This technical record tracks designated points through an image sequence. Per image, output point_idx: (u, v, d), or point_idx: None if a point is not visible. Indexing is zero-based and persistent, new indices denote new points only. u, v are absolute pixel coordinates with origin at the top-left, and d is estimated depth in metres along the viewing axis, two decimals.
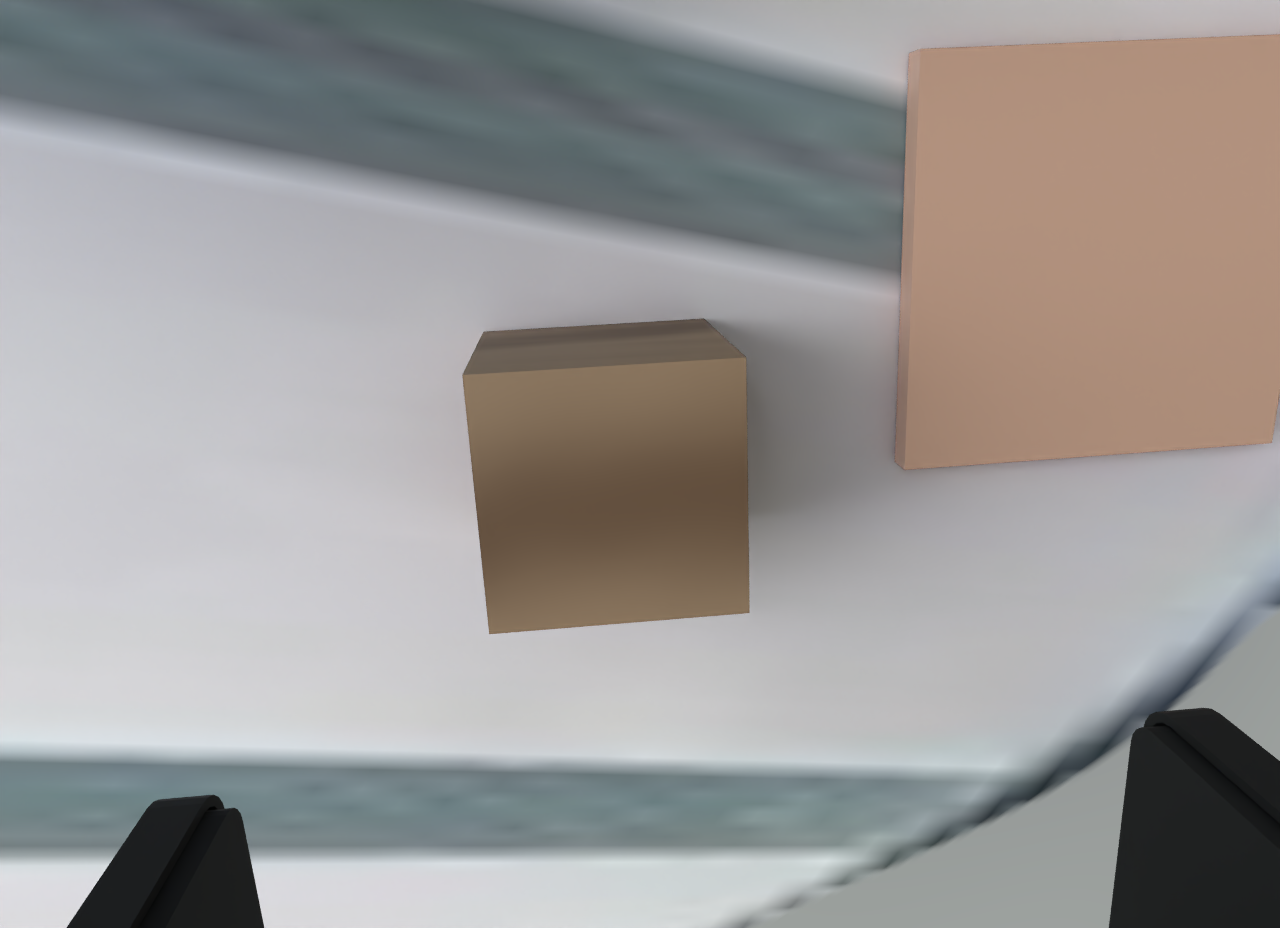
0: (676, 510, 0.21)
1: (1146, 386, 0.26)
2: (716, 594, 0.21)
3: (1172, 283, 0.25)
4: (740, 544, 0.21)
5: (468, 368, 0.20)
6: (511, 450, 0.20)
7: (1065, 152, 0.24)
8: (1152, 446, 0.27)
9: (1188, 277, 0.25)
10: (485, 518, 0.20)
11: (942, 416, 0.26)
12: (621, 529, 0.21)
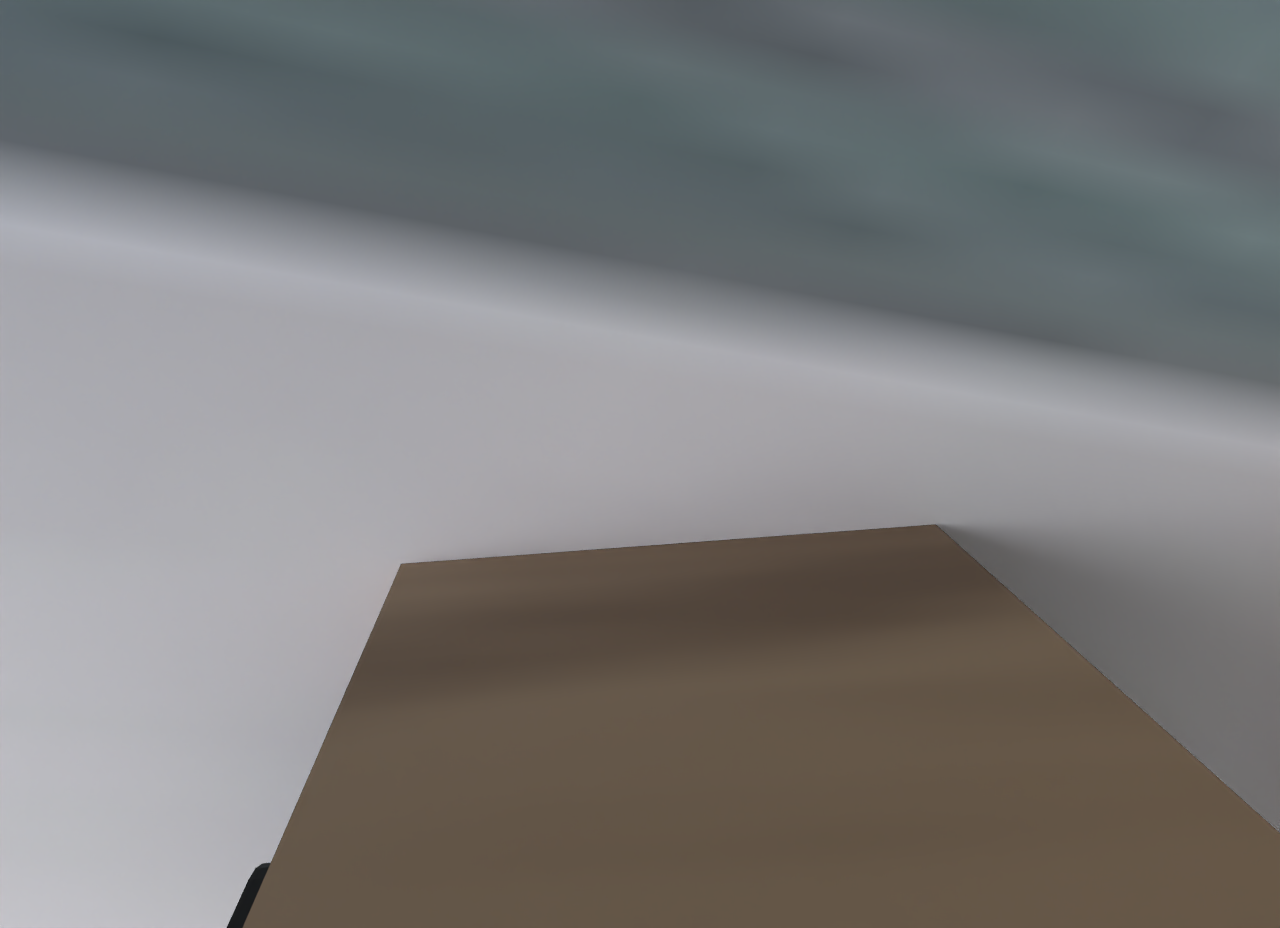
0: None
1: None
2: None
3: None
4: None
5: None
6: None
7: None
8: None
9: None
10: None
11: None
12: None
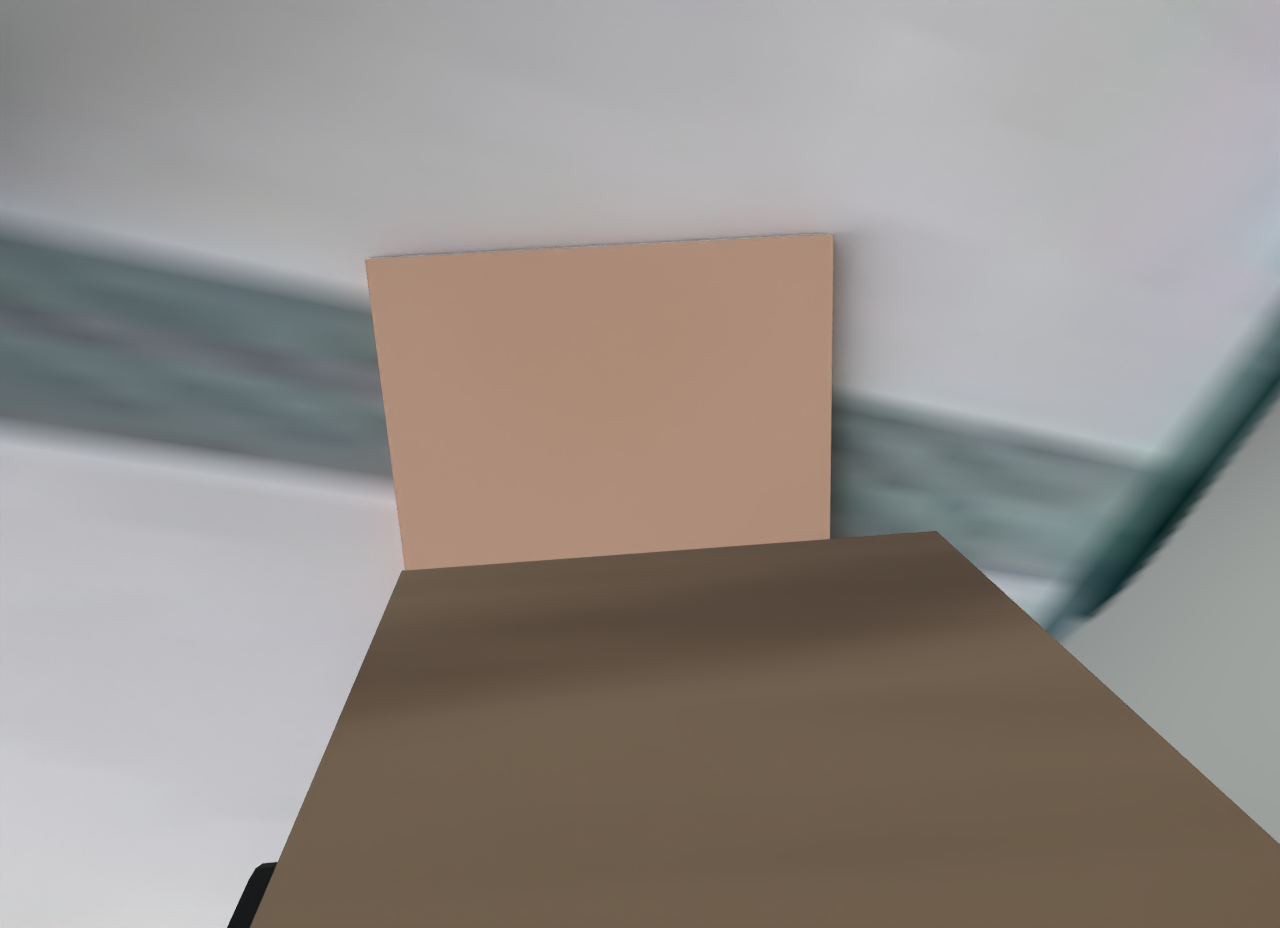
0: None
1: None
2: None
3: (690, 491, 0.24)
4: None
5: None
6: None
7: (546, 361, 0.22)
8: None
9: (707, 485, 0.24)
10: None
11: None
12: None
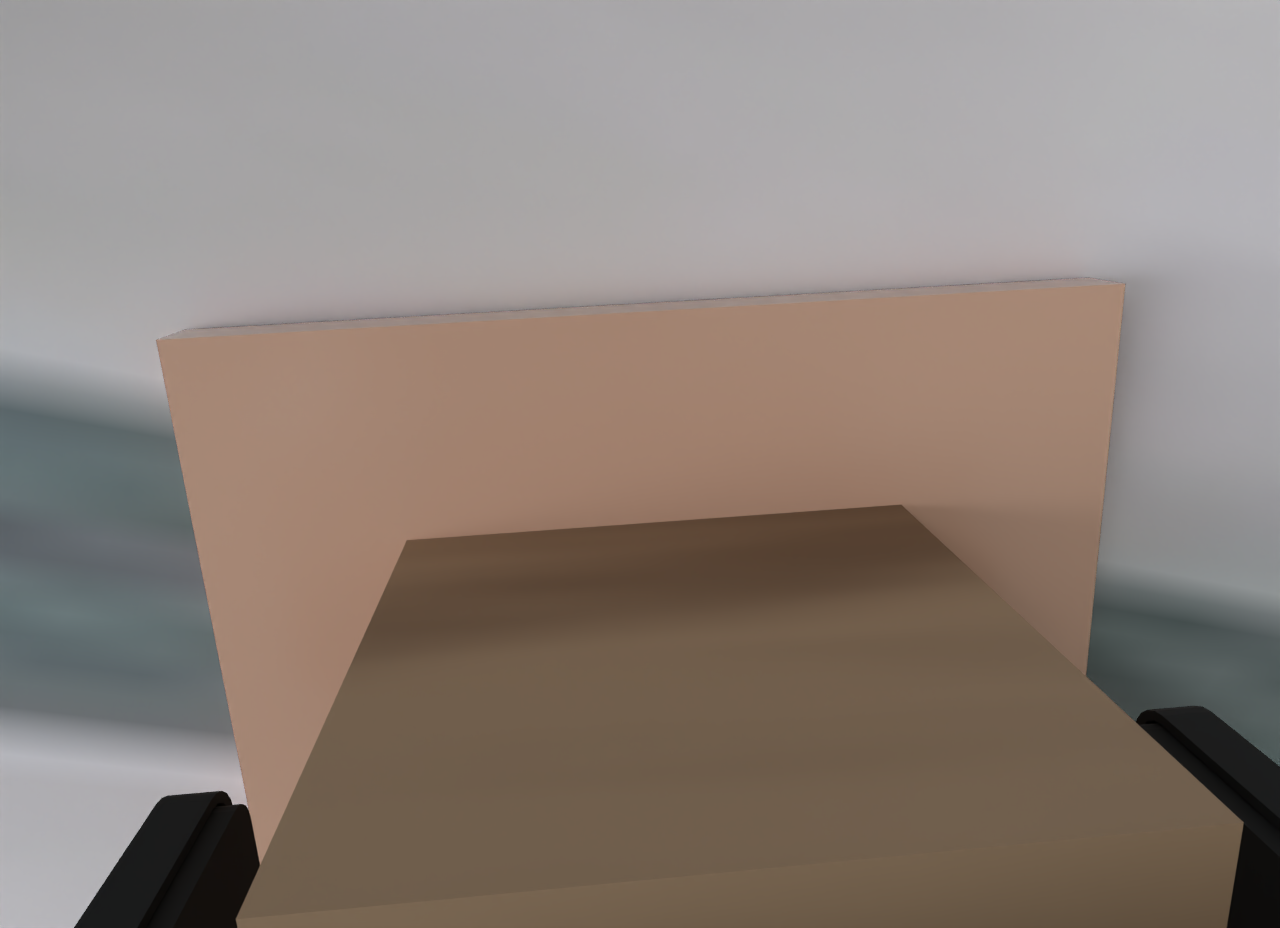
0: None
1: None
2: None
3: None
4: None
5: (281, 839, 0.06)
6: None
7: None
8: None
9: None
10: None
11: None
12: None
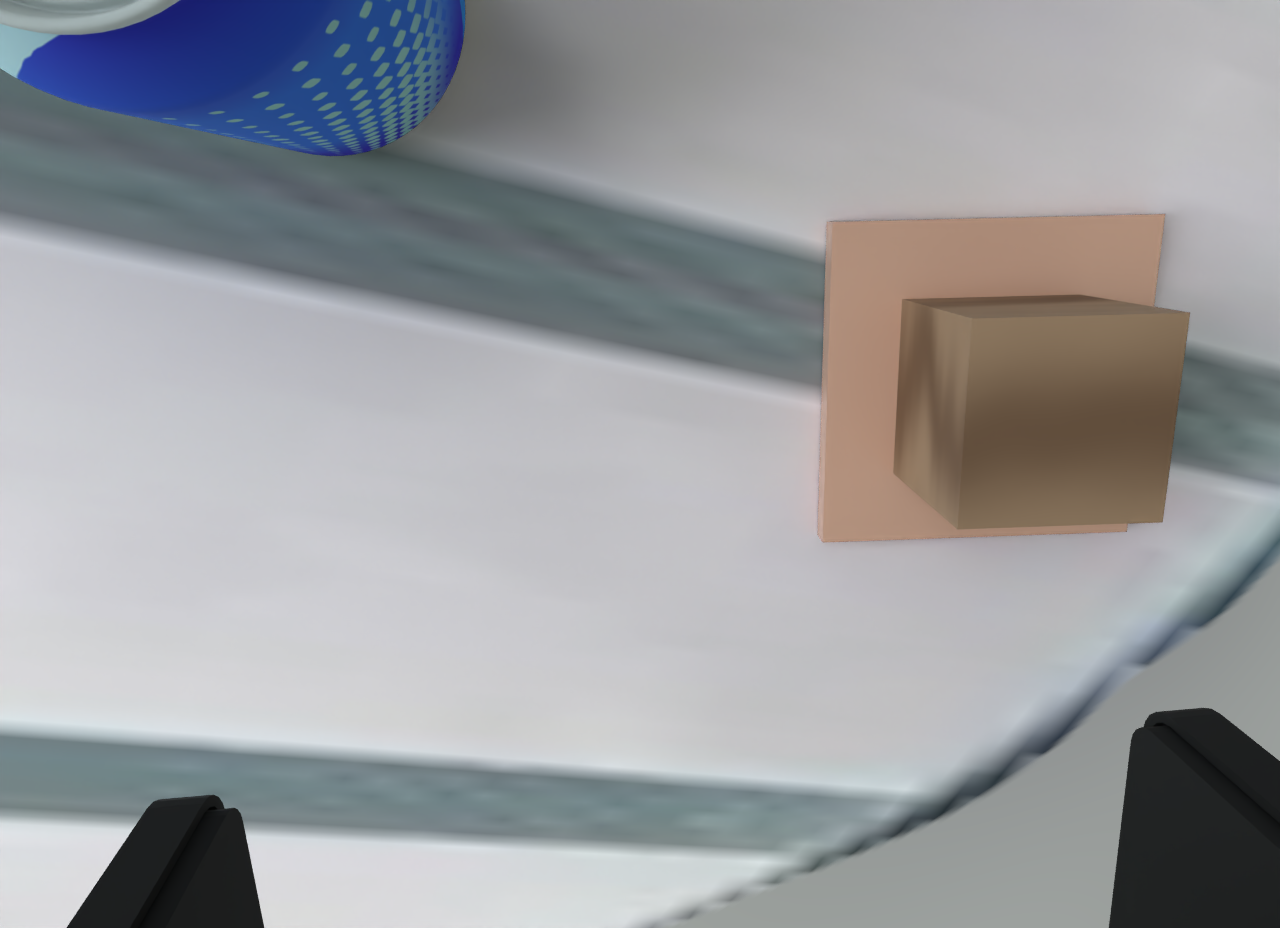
0: (1118, 434, 0.26)
1: None
2: (1138, 505, 0.27)
3: None
4: (1163, 464, 0.26)
5: (965, 315, 0.26)
6: (998, 380, 0.25)
7: None
8: (1026, 530, 0.33)
9: None
10: (970, 434, 0.26)
11: (852, 501, 0.33)
12: (1072, 447, 0.26)
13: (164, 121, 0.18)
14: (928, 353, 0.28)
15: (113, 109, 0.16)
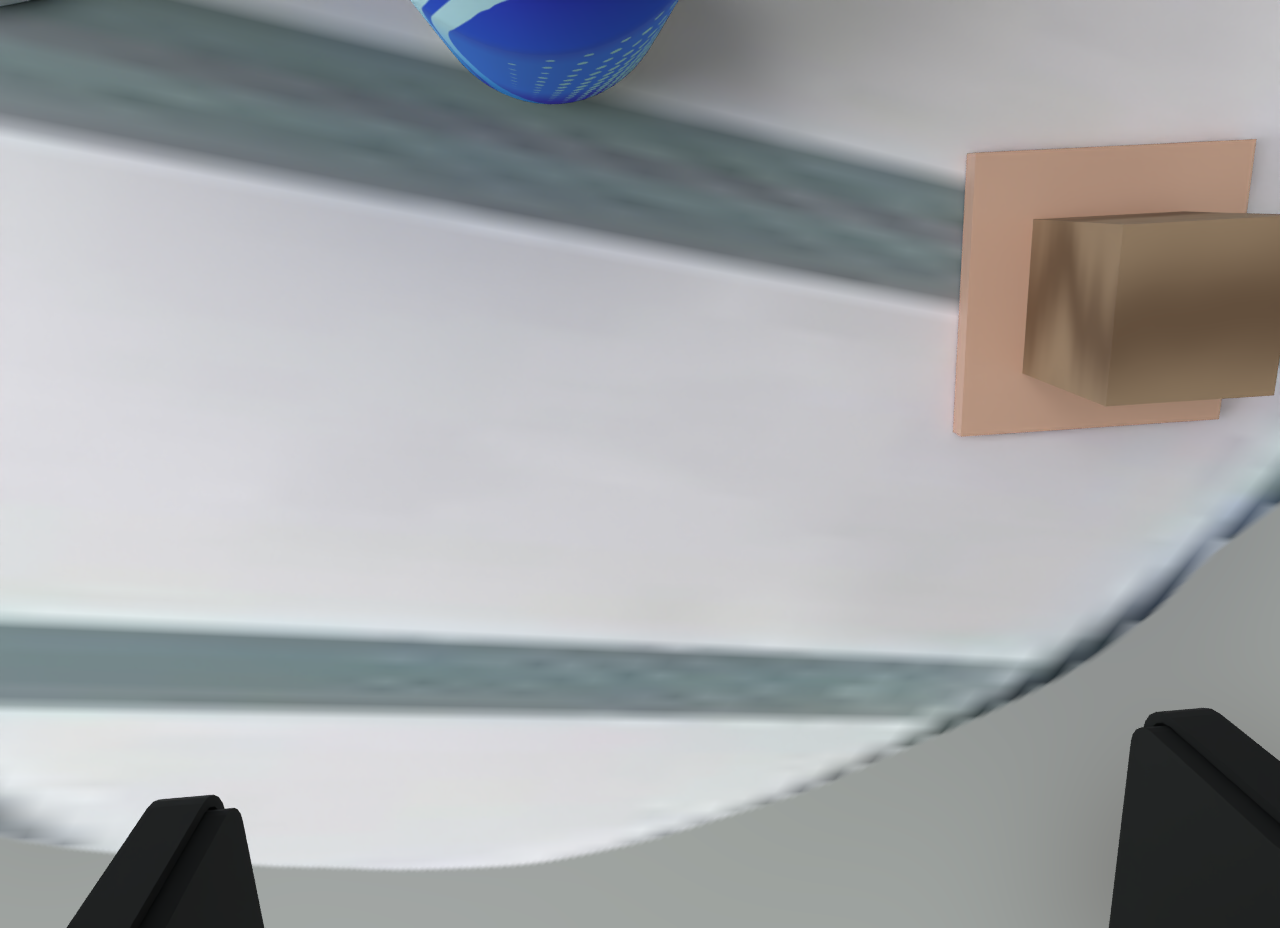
0: (1239, 321, 0.31)
1: None
2: (1254, 381, 0.32)
3: None
4: (1275, 345, 0.31)
5: (1113, 223, 0.30)
6: (1143, 277, 0.30)
7: None
8: (1134, 421, 0.38)
9: None
10: (1118, 324, 0.31)
11: (987, 399, 0.37)
12: (1202, 333, 0.31)
13: (533, 64, 0.23)
14: (1068, 262, 0.33)
15: (527, 52, 0.21)
